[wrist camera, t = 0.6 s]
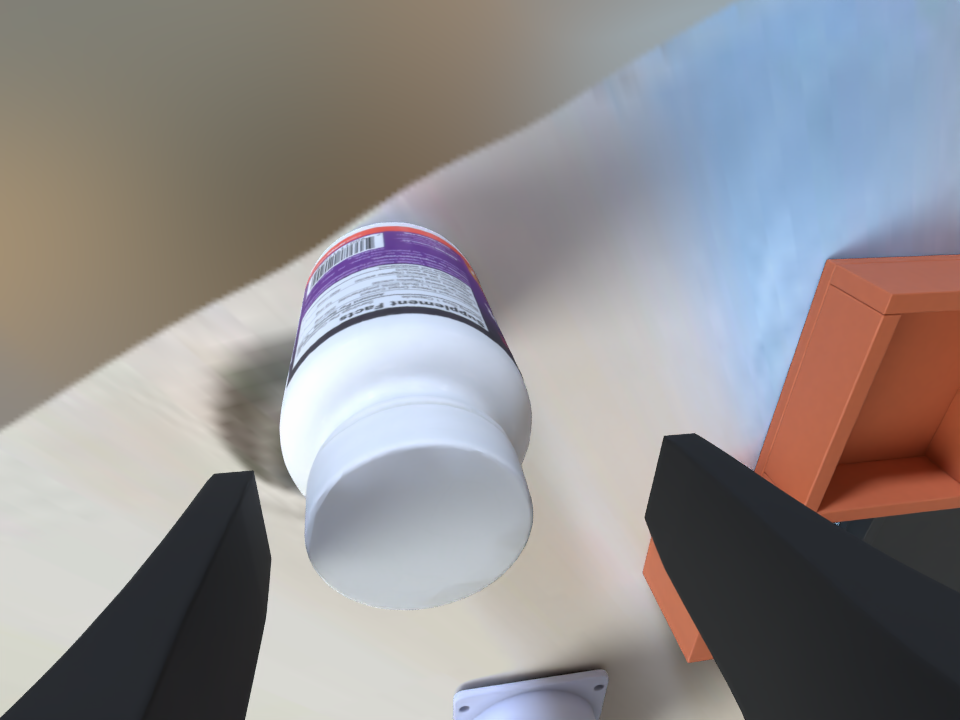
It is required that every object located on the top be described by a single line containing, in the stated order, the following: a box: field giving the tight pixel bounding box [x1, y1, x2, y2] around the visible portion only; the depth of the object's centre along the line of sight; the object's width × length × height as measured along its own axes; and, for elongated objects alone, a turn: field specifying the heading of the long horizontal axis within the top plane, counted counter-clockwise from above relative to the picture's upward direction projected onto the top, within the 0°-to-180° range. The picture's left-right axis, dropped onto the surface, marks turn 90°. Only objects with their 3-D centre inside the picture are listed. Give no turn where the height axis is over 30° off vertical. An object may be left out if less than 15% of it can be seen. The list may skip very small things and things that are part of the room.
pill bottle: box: [280, 222, 533, 610], centre depth 14 cm, size 5×5×10 cm
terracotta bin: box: [754, 255, 960, 523], centre depth 22 cm, size 10×8×3 cm
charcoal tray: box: [839, 508, 960, 593], centre depth 30 cm, size 14×13×1 cm
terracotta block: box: [643, 537, 714, 663], centre depth 25 cm, size 4×4×4 cm
